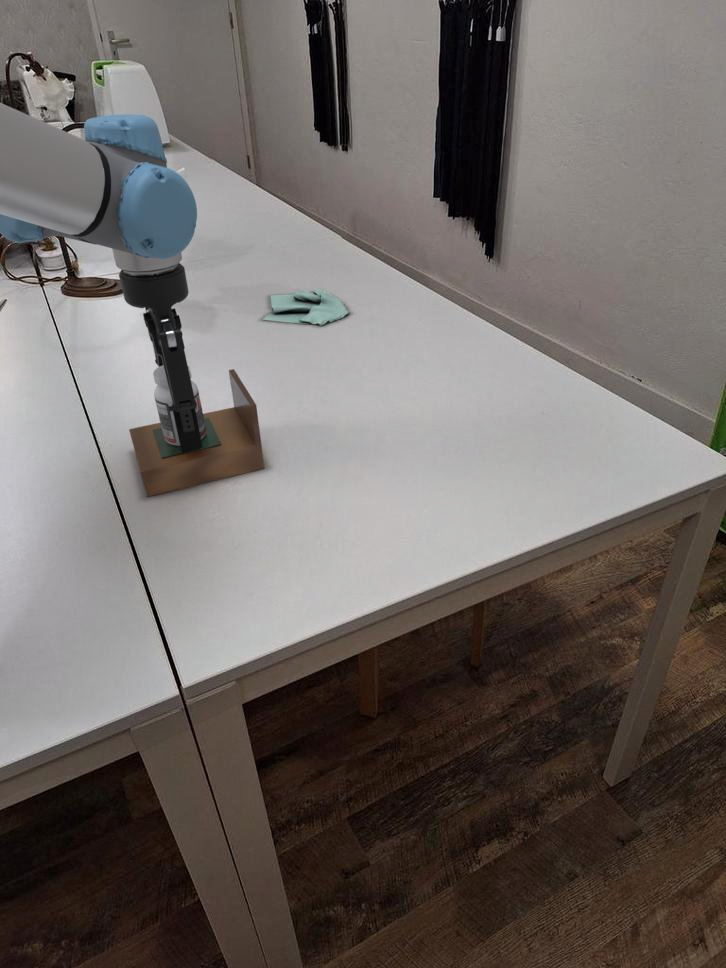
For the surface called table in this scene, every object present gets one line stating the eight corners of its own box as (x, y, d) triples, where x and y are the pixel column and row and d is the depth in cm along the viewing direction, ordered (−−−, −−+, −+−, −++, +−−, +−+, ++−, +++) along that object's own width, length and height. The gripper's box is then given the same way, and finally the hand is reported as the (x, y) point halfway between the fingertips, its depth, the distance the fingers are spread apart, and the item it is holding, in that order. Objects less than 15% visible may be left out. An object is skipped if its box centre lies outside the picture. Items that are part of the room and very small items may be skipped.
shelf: (146, 497, 85) (129, 431, 80) (135, 452, 95) (118, 390, 89) (264, 468, 90) (256, 404, 85) (242, 429, 99) (233, 368, 94)
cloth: (328, 330, 131) (327, 319, 130) (237, 315, 139) (235, 304, 137) (370, 298, 146) (370, 288, 145) (286, 286, 154) (285, 276, 152)
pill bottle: (209, 425, 92) (198, 360, 86) (203, 446, 87) (190, 379, 82) (169, 427, 92) (154, 362, 86) (160, 448, 87) (144, 381, 82)
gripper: (201, 288, 69) (230, 465, 82) (168, 240, 86) (197, 395, 99) (128, 299, 67) (170, 479, 80) (108, 248, 83) (146, 405, 96)
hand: (185, 432), depth 89 cm, fingers open, 8 cm apart
